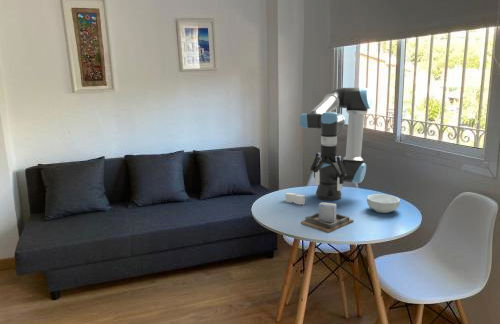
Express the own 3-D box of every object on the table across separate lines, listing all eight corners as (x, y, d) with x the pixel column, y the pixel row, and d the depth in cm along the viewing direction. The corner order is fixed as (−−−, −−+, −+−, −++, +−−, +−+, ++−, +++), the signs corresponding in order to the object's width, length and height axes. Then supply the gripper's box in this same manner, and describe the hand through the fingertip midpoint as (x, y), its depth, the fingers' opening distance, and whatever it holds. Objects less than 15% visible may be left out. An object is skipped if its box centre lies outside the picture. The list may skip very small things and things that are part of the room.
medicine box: (336, 220, 202) (336, 203, 200) (334, 223, 198) (334, 206, 196) (320, 218, 205) (321, 201, 203) (318, 221, 201) (318, 204, 200)
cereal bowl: (401, 217, 208) (402, 203, 206) (367, 215, 211) (368, 202, 209) (396, 206, 224) (397, 194, 222) (365, 205, 227) (366, 192, 226)
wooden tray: (325, 213, 215) (326, 208, 214) (353, 221, 202) (353, 216, 202) (300, 223, 202) (301, 218, 201) (328, 232, 189) (328, 227, 189)
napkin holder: (280, 201, 238) (280, 192, 237) (297, 198, 242) (297, 189, 241) (293, 209, 224) (293, 199, 223) (310, 206, 229) (310, 196, 228)
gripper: (303, 142, 200) (303, 184, 205) (346, 149, 182) (344, 194, 187) (313, 140, 205) (313, 181, 210) (355, 146, 187) (354, 190, 191)
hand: (328, 187), depth 198 cm, fingers open, 13 cm apart
